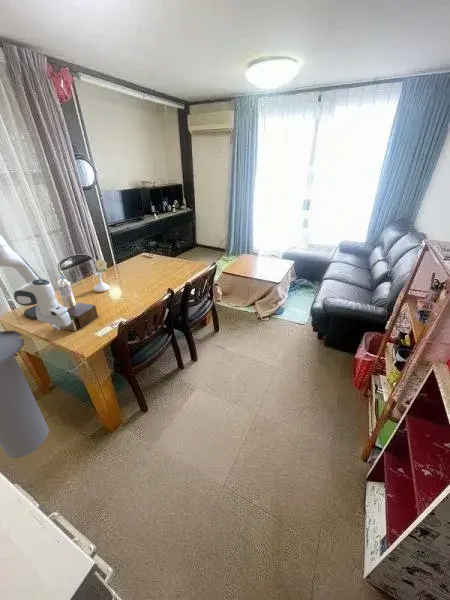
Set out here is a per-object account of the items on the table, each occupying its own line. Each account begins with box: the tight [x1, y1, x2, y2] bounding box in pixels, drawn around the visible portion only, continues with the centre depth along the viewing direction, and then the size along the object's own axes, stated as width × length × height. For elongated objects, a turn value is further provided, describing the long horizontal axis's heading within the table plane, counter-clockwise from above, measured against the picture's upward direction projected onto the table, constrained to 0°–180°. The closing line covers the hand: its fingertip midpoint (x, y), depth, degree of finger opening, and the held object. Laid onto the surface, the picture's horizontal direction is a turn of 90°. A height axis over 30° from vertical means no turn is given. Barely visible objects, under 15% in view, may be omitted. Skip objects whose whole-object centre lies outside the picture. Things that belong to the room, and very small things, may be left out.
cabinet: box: [66, 302, 99, 330], centre depth 158 cm, size 15×13×9 cm
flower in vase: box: [93, 258, 110, 293], centre depth 194 cm, size 13×11×25 cm
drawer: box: [60, 317, 79, 332], centre depth 152 cm, size 18×11×7 cm, turn 164°
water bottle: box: [57, 275, 77, 309], centre depth 165 cm, size 7×7×25 cm
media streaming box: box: [23, 304, 38, 320], centre depth 167 cm, size 15×15×3 cm
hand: (57, 329), depth 144 cm, fingers closed, pressing on drawer
